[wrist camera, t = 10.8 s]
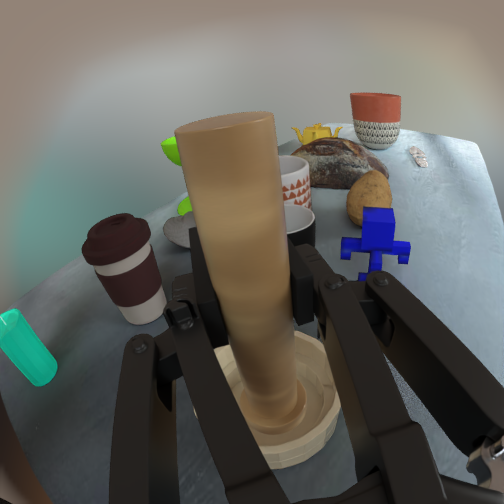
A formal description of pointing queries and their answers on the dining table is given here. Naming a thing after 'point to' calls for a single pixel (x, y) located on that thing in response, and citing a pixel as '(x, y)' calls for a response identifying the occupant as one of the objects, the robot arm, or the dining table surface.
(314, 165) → the bread
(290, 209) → the mug
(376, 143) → the planter
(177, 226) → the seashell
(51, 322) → the dining table surface
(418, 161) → the white lumpy piece
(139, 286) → the coffee cup
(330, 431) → the bowl
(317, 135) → the teapot
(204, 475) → the dining table surface
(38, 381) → the candle
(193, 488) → the dining table surface
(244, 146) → the wooden pestle
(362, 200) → the potato
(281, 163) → the white patterned cup
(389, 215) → the figurine
